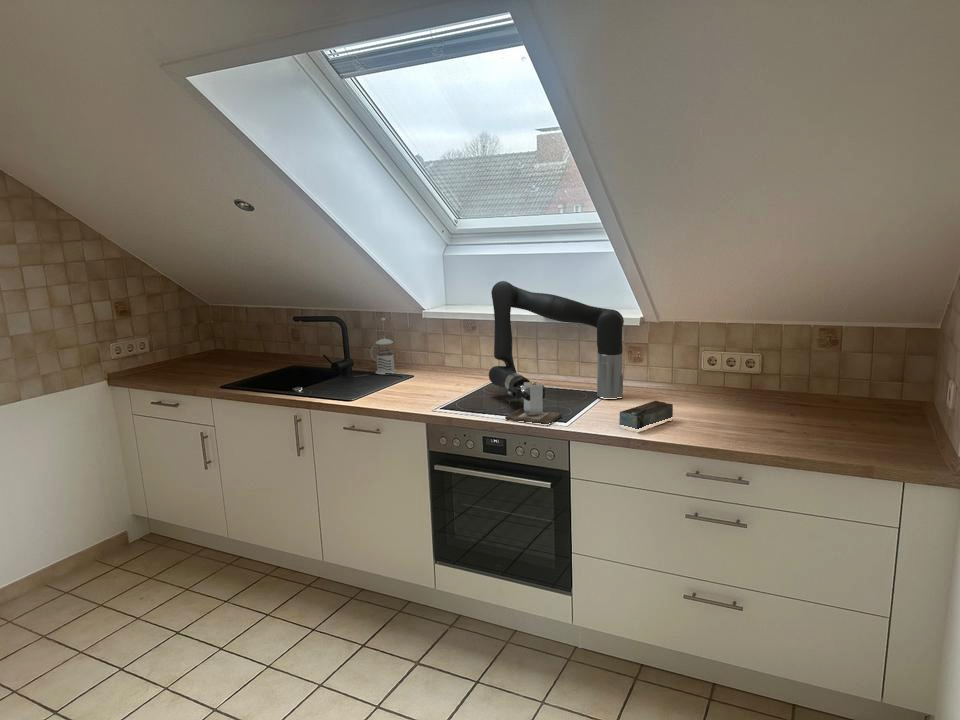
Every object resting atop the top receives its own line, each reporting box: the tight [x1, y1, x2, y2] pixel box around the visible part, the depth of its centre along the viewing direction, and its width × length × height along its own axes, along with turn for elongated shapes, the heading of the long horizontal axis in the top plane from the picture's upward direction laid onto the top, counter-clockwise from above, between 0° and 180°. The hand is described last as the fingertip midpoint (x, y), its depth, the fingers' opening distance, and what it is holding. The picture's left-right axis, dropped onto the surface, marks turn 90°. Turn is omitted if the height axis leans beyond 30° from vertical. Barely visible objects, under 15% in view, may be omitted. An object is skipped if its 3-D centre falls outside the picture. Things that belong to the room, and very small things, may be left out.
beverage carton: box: [618, 400, 674, 429], centre depth 228 cm, size 8×19×7 cm, turn 128°
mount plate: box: [504, 407, 563, 424], centre depth 238 cm, size 16×12×1 cm
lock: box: [523, 381, 544, 415], centre depth 237 cm, size 4×6×11 cm
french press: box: [369, 317, 397, 375], centre depth 312 cm, size 10×12×25 cm
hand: (536, 397), depth 234 cm, fingers closed on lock, 4 cm apart
